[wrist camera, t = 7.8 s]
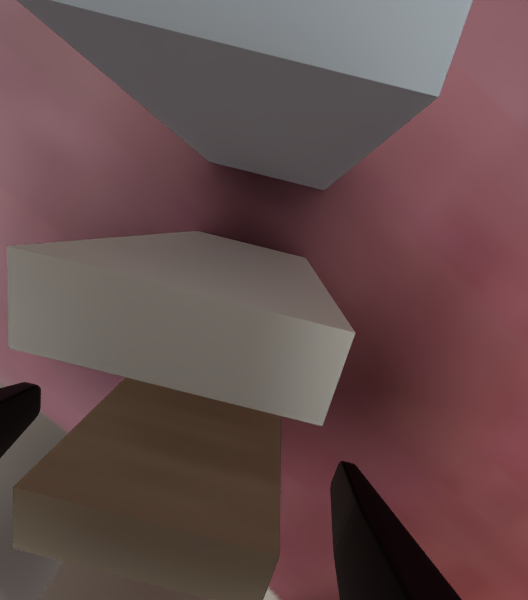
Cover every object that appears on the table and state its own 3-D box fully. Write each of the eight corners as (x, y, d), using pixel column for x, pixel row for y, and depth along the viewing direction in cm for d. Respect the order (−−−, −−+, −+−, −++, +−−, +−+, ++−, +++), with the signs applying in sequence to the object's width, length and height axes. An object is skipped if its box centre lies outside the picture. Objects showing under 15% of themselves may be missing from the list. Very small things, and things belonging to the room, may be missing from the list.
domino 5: (324, 190, 12) (438, 96, 3) (208, 161, 12) (4, -11, 3) (335, 149, 11) (505, -92, 3) (216, 119, 11) (-1, -218, 3)
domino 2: (253, 445, 15) (214, 730, 7) (164, 423, 15) (12, 679, 7) (259, 421, 15) (226, 693, 6) (168, 399, 15) (11, 639, 6)
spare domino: (273, 374, 14) (258, 612, 6) (178, 350, 14) (12, 548, 6) (281, 347, 14) (279, 556, 5) (183, 321, 14) (12, 487, 5)
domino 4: (296, 291, 13) (322, 426, 4) (191, 265, 13) (8, 347, 4) (305, 257, 13) (355, 333, 4) (197, 230, 13) (6, 245, 4)
